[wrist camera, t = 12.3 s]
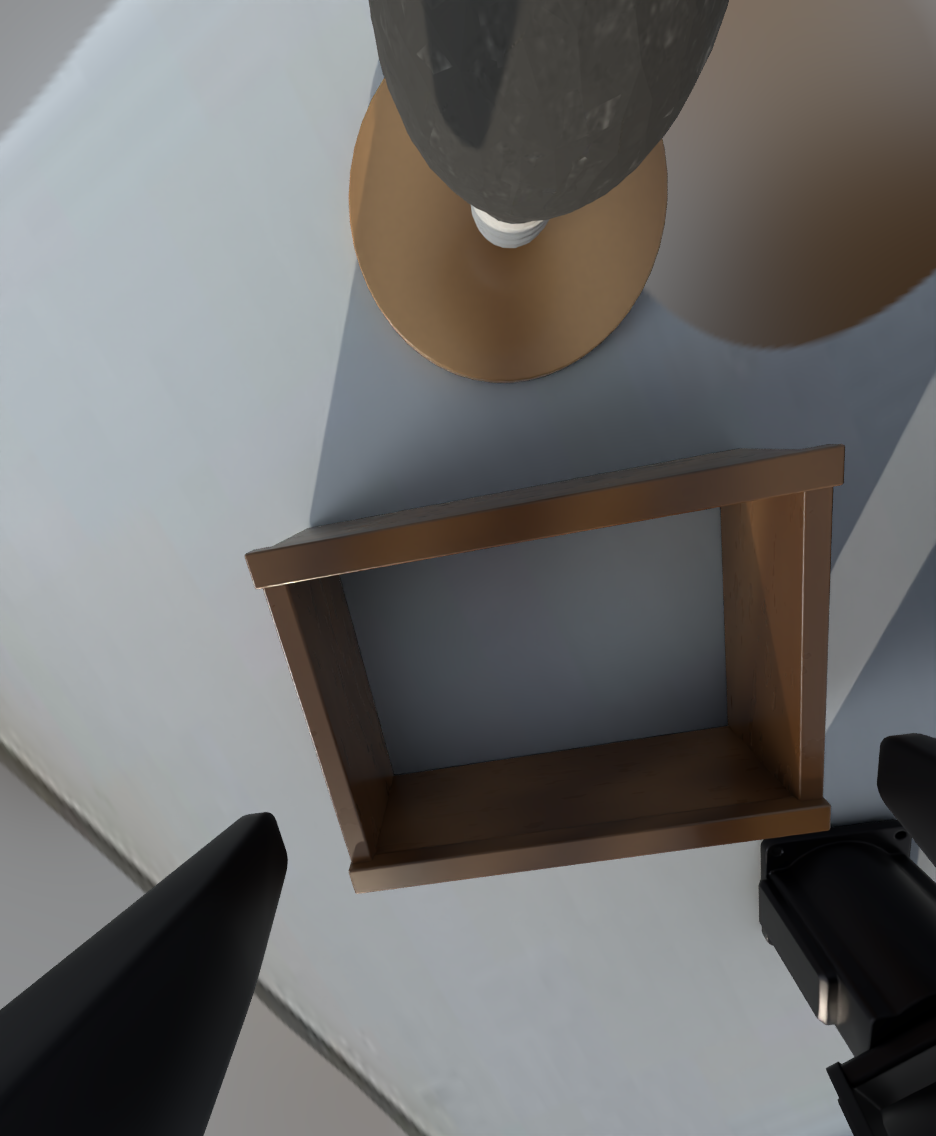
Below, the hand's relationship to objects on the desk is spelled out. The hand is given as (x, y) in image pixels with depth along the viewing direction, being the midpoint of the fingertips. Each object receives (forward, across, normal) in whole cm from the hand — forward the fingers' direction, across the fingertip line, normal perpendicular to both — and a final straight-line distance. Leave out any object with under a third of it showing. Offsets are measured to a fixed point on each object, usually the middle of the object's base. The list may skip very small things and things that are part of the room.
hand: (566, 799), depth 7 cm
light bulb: (+11, -2, -12) cm, 16 cm away
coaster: (+12, -2, -12) cm, 17 cm away
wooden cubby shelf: (+12, -1, +3) cm, 12 cm away
